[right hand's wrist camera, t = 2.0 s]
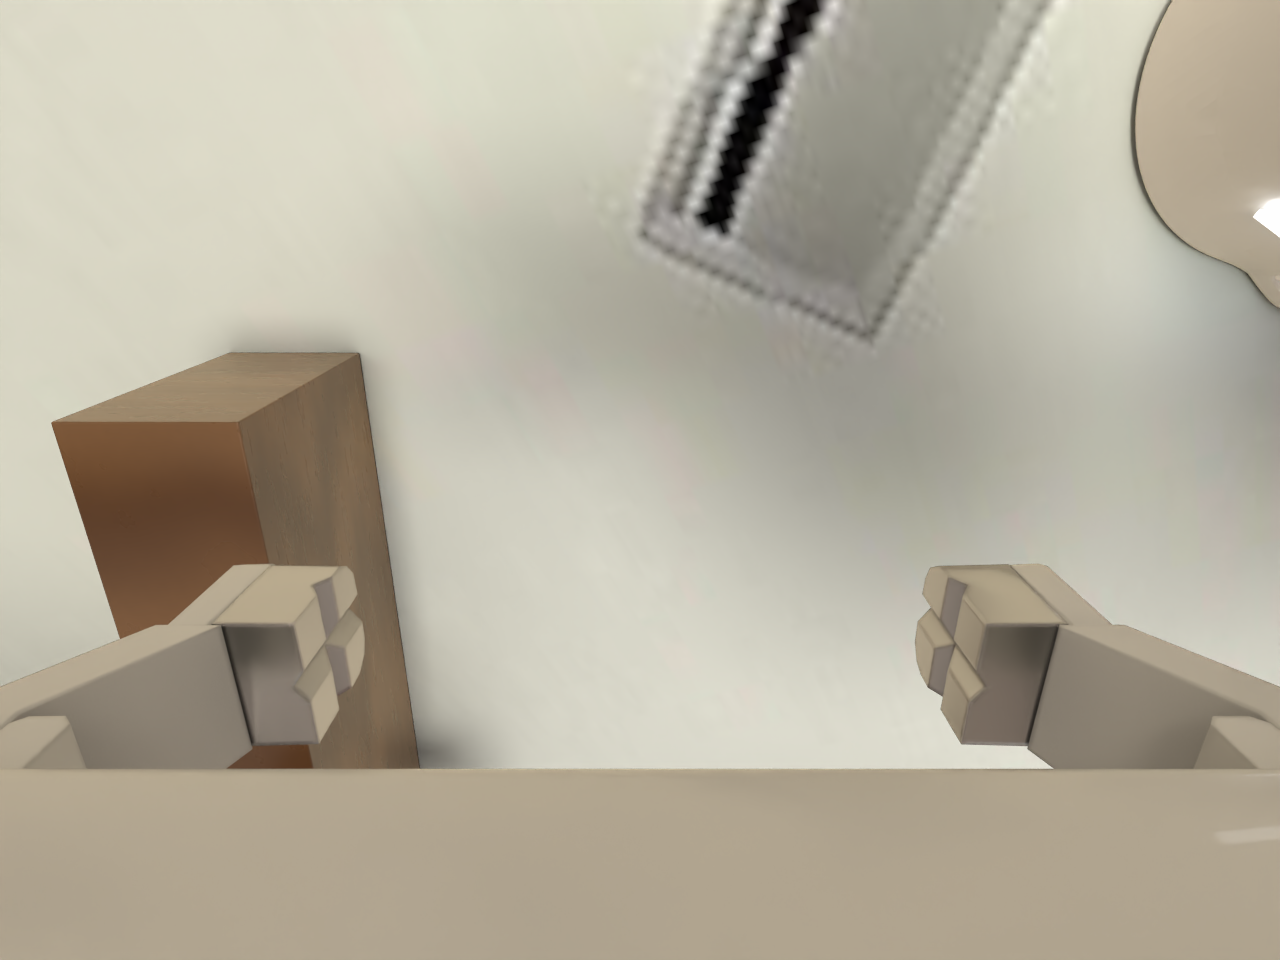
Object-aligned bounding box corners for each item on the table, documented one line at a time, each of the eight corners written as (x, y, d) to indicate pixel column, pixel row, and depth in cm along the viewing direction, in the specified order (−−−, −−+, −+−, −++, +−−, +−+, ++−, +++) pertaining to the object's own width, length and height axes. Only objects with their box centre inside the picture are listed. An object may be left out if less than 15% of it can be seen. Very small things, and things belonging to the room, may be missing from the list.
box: (228, 352, 33) (49, 422, 23) (359, 352, 33) (237, 422, 23) (324, 798, 43) (228, 981, 33) (424, 798, 43) (359, 981, 33)
